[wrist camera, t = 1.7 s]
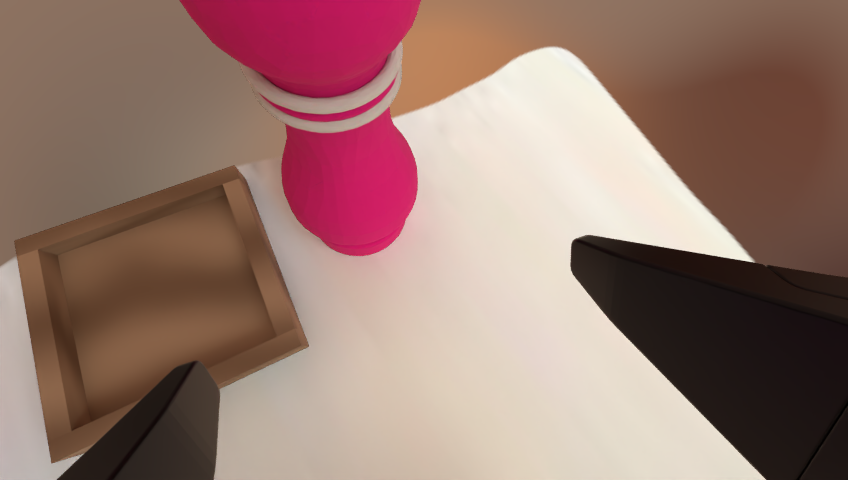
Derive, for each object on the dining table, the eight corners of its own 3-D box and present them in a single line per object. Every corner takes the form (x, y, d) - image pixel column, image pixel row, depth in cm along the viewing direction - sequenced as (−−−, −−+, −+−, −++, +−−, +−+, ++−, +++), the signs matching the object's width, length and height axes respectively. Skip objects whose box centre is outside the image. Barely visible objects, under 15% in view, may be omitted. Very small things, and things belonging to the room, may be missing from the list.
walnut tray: (308, 346, 20) (301, 345, 19) (84, 453, 18) (51, 463, 16) (245, 179, 23) (234, 165, 22) (45, 250, 21) (14, 240, 19)
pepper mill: (281, 212, 23) (-247, -470, 4) (361, 146, 25) (264, -507, 6) (358, 287, 22) (132, -164, 3) (435, 211, 24) (599, -339, 5)
